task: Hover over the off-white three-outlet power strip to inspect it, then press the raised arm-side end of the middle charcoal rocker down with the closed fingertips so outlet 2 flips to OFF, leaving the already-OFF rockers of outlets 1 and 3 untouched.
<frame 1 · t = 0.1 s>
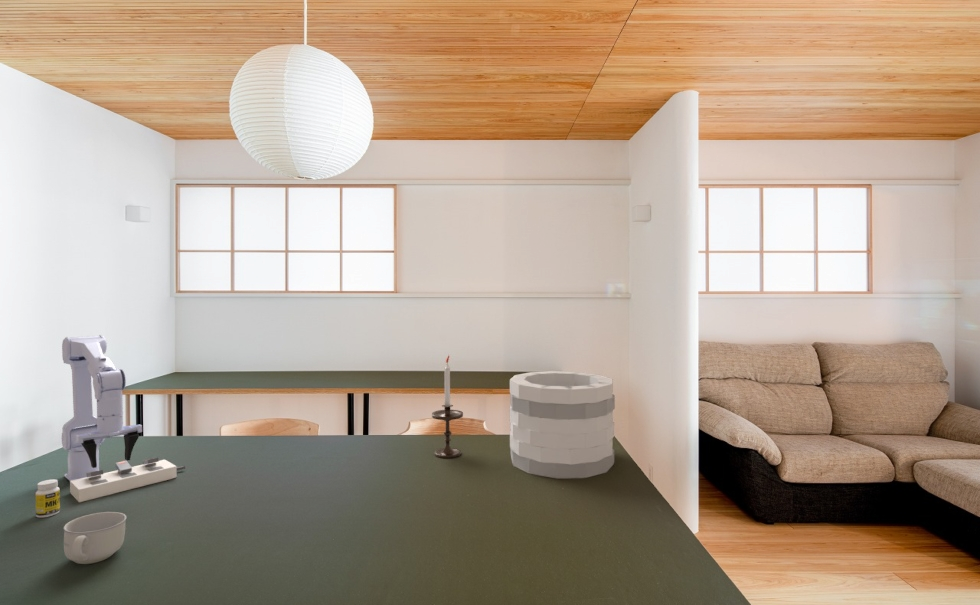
hand: (111, 463, 142), 10 cm above the table, fingers open, 7 cm apart
rocker 2: (123, 467, 153), point 5 cm above the table, hinge at 15.0°
storage basket: (561, 460, 174), on the table
rocker 1: (94, 473, 148), point 5 cm above the table, hinge at -15.0°
teacup: (91, 561, 110), on the table
supplement bottle: (48, 514, 133), on the table
rocker 3: (150, 460, 159), point 5 cm above the table, hinge at -15.0°
candlestick: (447, 454, 180), on the table
power strip: (125, 484, 153), on the table
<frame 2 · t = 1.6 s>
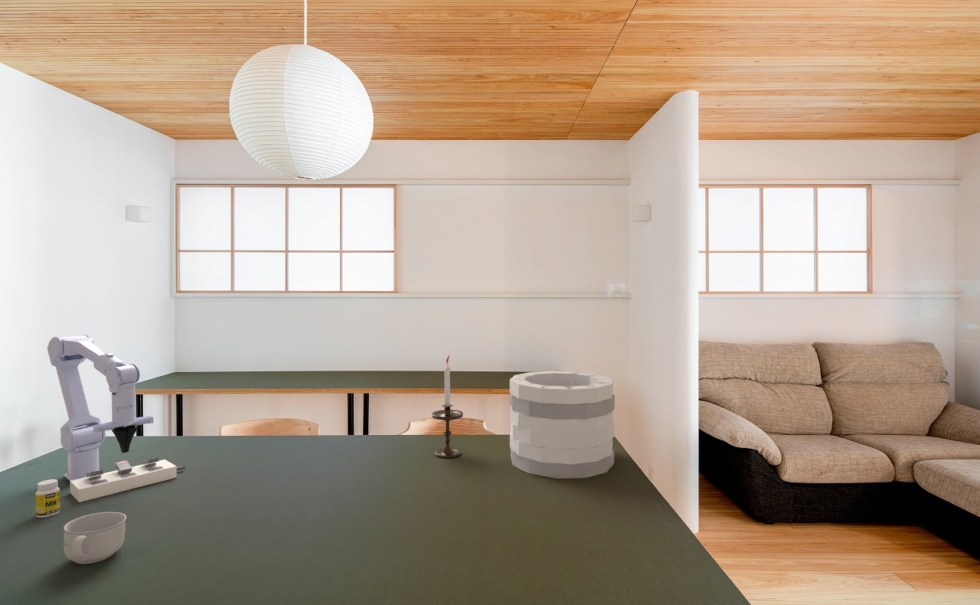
hand: (124, 451, 152), 10 cm above the table, fingers closed
nothing on the table moved.
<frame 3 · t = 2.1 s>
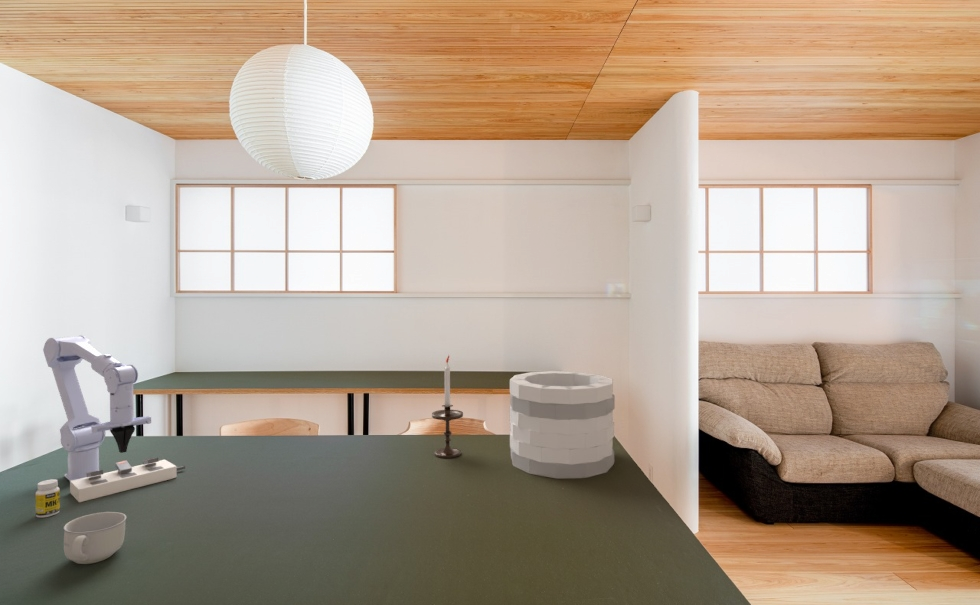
hand: (122, 451, 153), 10 cm above the table, fingers closed
nothing on the table moved.
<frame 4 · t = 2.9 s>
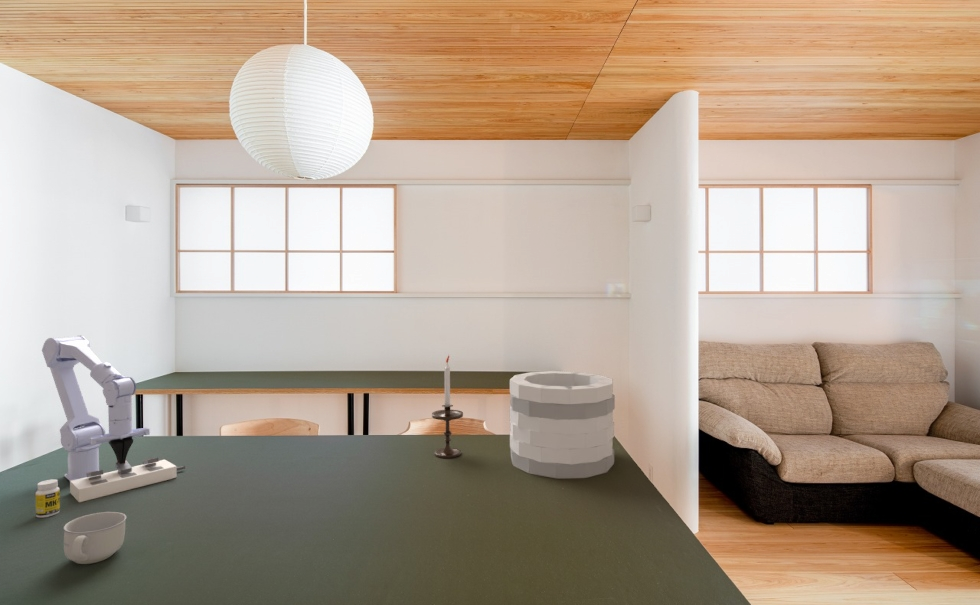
hand: (121, 463, 155), 6 cm above the table, fingers closed, pressing on rocker 2
rocker 2: (123, 467, 153), point 5 cm above the table, hinge at 14.7°, touching gripper
everything else where it was.
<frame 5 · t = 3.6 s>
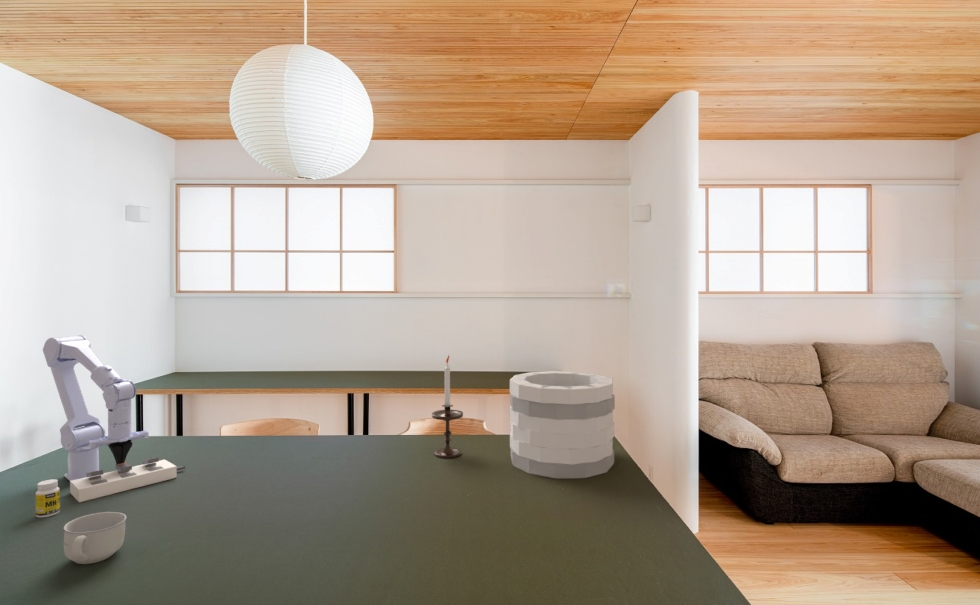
hand: (119, 466, 156), 5 cm above the table, fingers closed, pressing on rocker 2
rocker 2: (123, 467, 153), point 5 cm above the table, hinge at 0.0°, touching gripper
everything else where it was.
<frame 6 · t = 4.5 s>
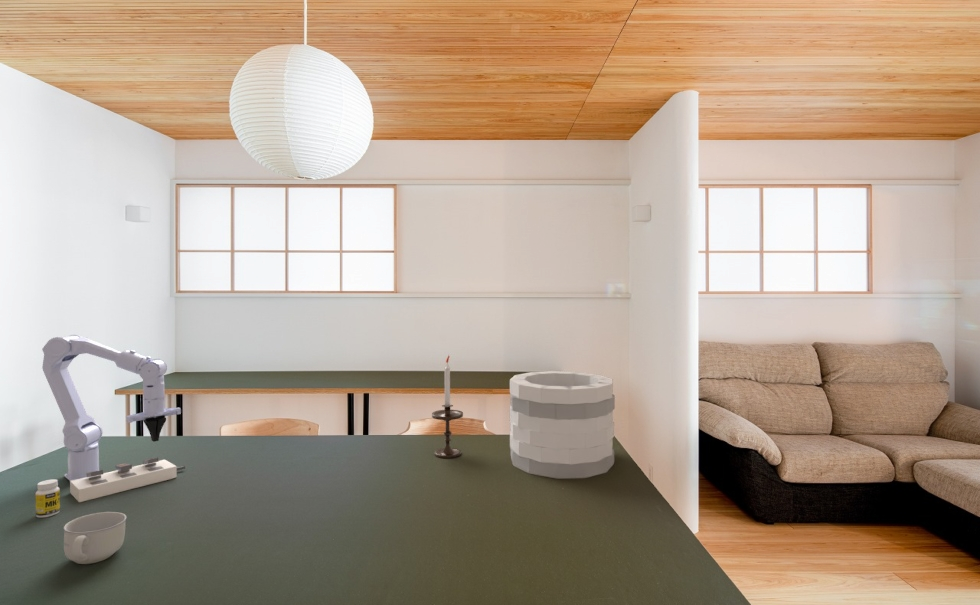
hand: (155, 440, 163), 10 cm above the table, fingers closed
rocker 2: (123, 467, 153), point 5 cm above the table, hinge at -8.0°
everything else where it was.
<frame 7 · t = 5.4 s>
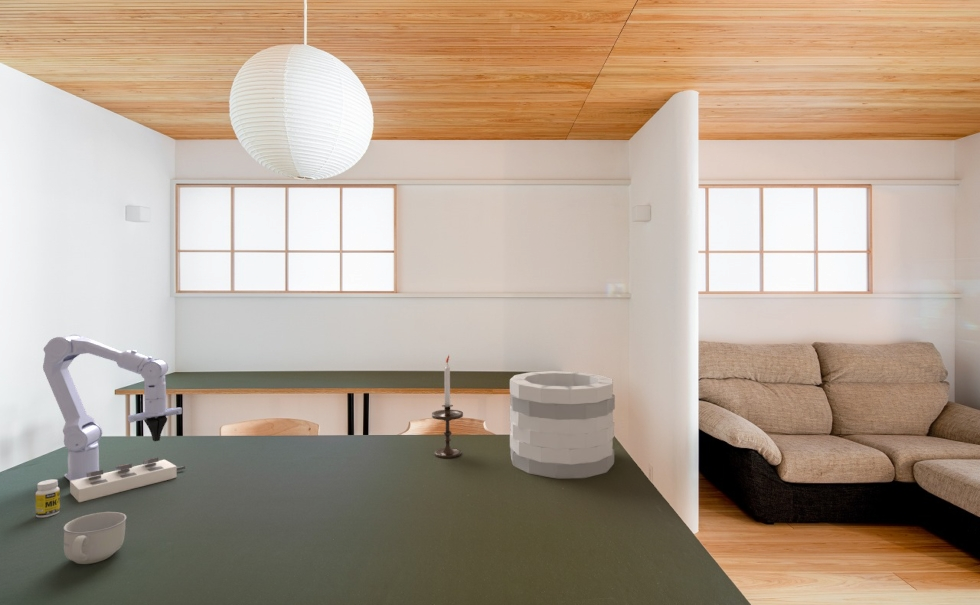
hand: (156, 440, 164), 10 cm above the table, fingers closed
rocker 2: (123, 467, 153), point 5 cm above the table, hinge at -13.5°
everything else where it was.
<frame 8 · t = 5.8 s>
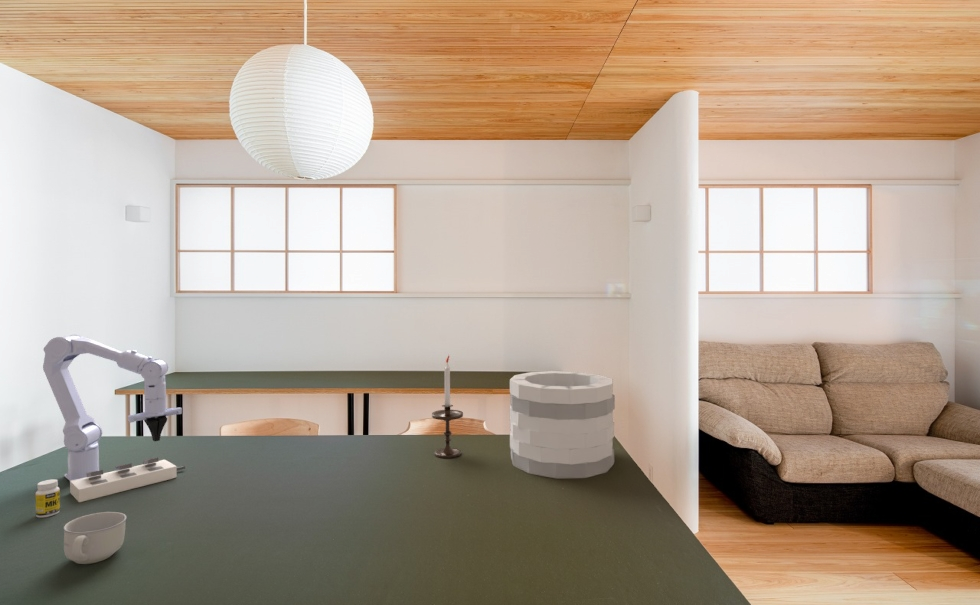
hand: (156, 440, 164), 10 cm above the table, fingers closed
rocker 2: (123, 467, 153), point 5 cm above the table, hinge at -15.5°
everything else where it was.
at the end: rocker 2 at -16° (first picture: +15°); rocker 1 at -15° (first picture: -15°); rocker 3 at -15° (first picture: -15°) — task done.
